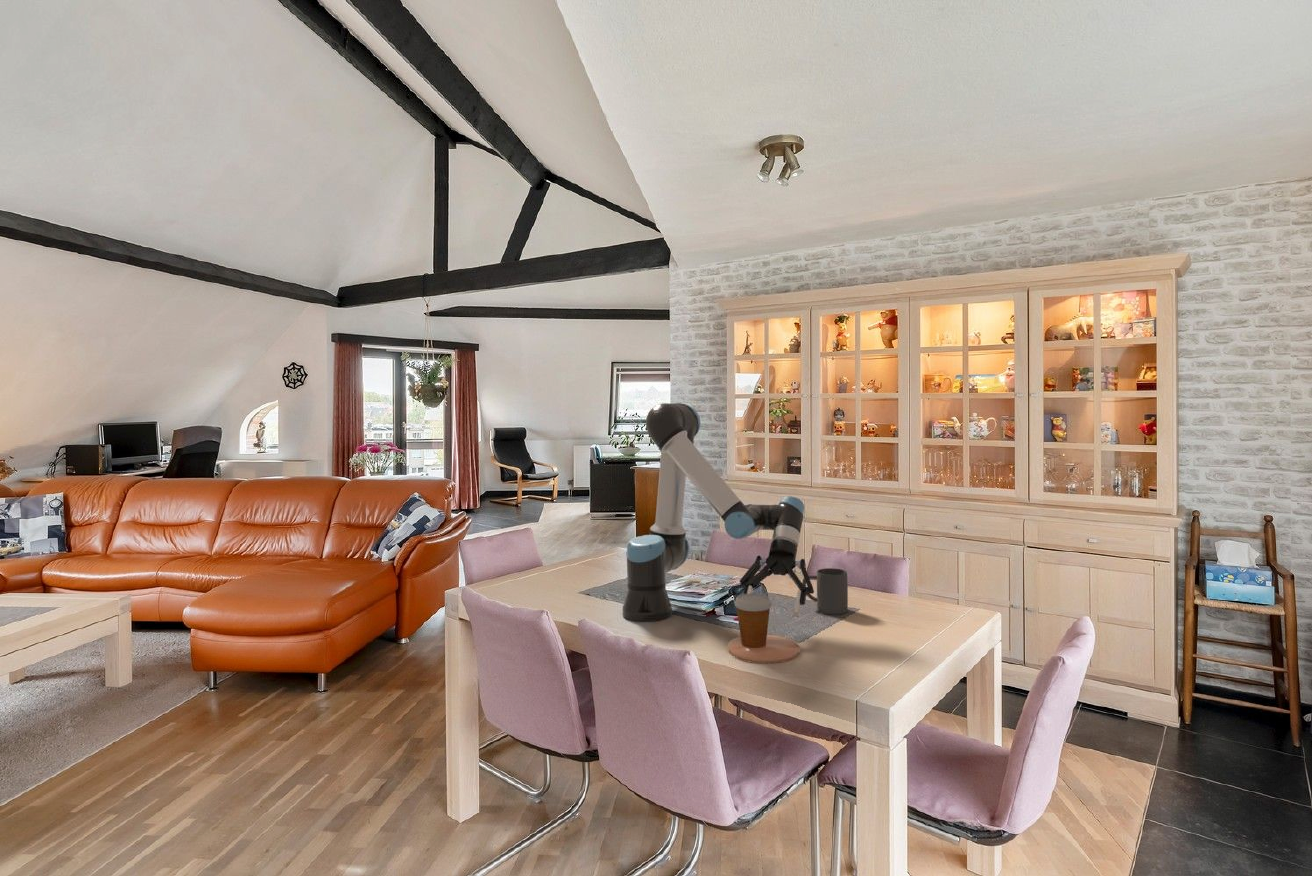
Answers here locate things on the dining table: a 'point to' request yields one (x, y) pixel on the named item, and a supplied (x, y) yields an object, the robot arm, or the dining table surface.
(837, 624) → the dining table surface
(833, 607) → the mug
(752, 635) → the disposable coffee cup
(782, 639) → the terracotta dish
